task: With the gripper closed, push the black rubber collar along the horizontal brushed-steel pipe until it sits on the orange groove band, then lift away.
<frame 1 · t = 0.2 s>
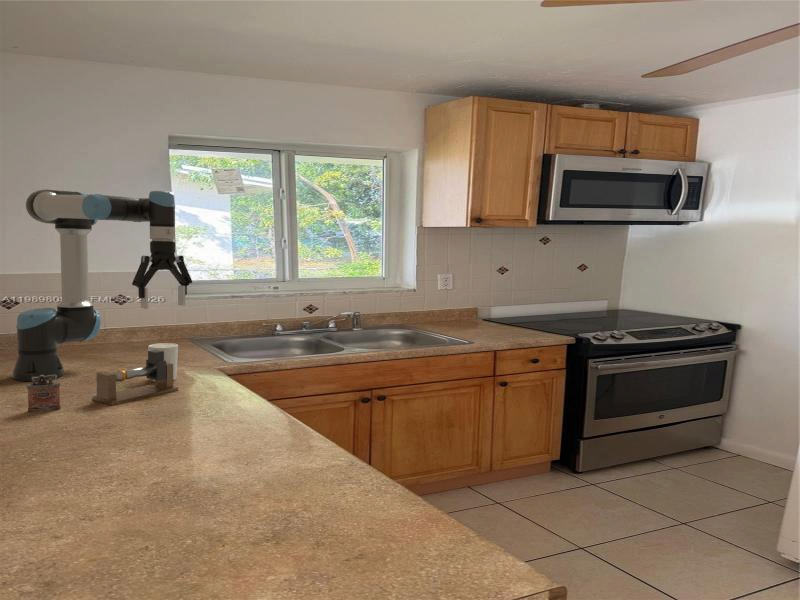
hand: (163, 307, 194), 27 cm above the counter, fingers open, 13 cm apart
lighter: (44, 410, 171), on the counter
candle holder: (163, 379, 212), on the counter
collar: (156, 364, 195), point 9 cm above the counter, slide at 0.0 cm
pipe rig: (136, 395, 190), on the counter
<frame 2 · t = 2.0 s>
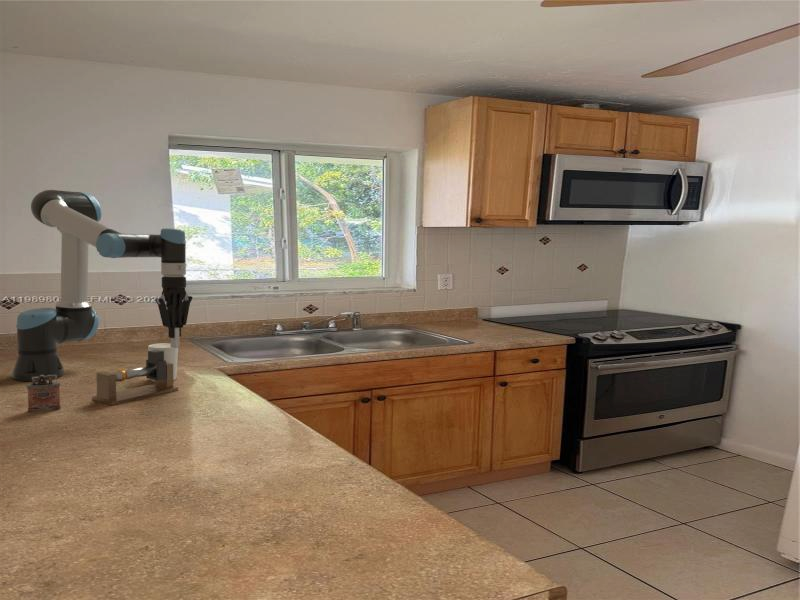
hand: (175, 347, 200), 13 cm above the counter, fingers closed
nothing on the counter moved.
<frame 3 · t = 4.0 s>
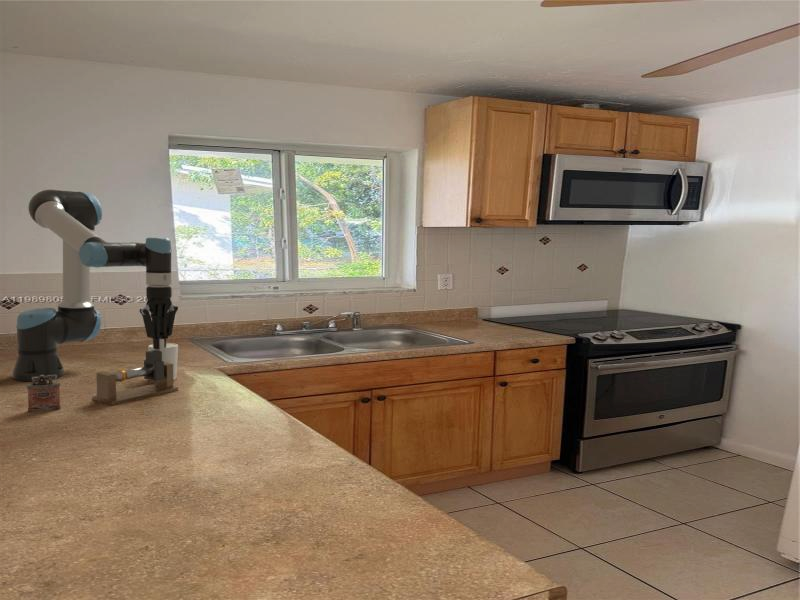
hand: (159, 358, 196), 10 cm above the counter, fingers closed
collar: (153, 365, 194), point 9 cm above the counter, slide at 0.8 cm, touching gripper
everything else where it was.
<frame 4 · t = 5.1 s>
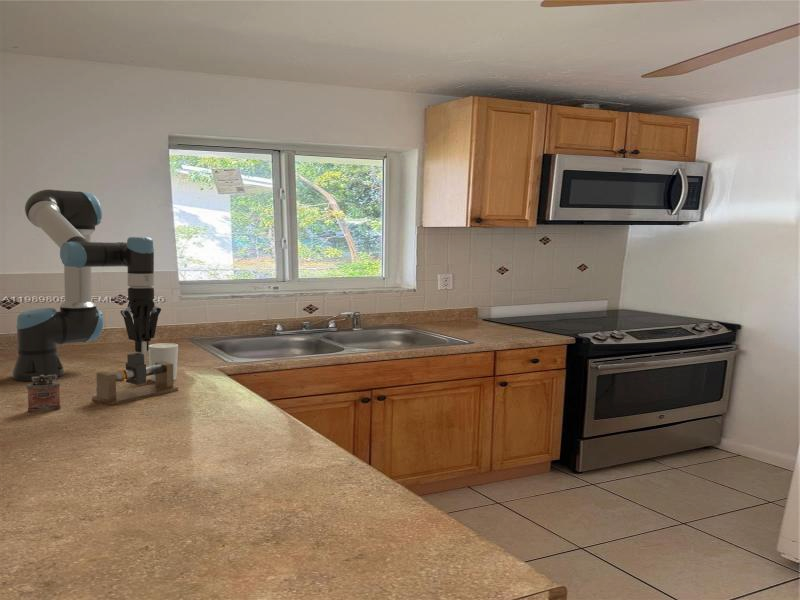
hand: (142, 361, 190), 10 cm above the counter, fingers closed
collar: (135, 368, 189), point 9 cm above the counter, slide at 7.2 cm, touching gripper
everything else where it was.
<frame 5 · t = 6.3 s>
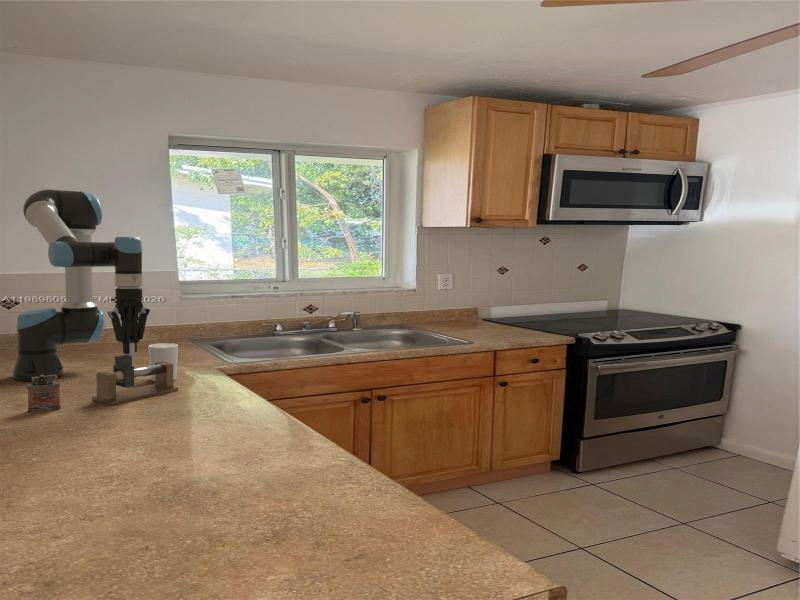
hand: (130, 363, 187), 10 cm above the counter, fingers closed
collar: (123, 370, 185), point 9 cm above the counter, slide at 11.3 cm, touching gripper
everything else where it was.
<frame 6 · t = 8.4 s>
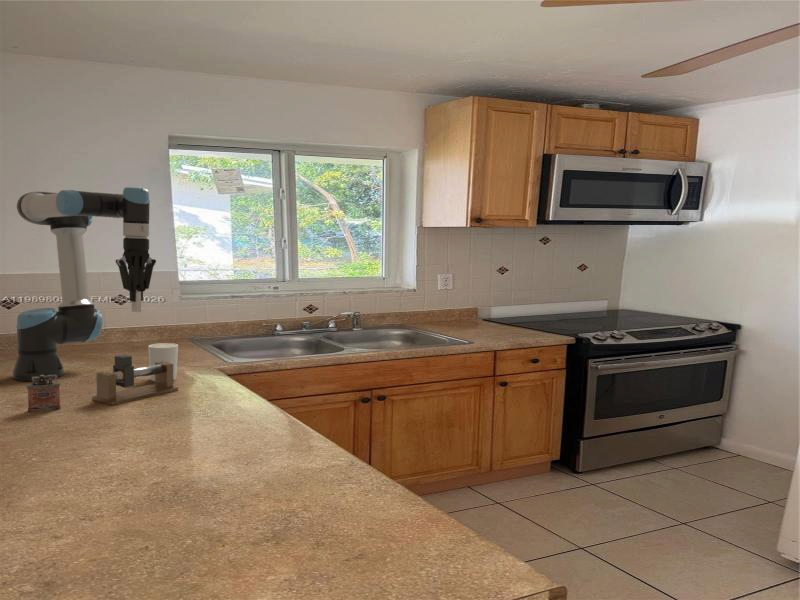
hand: (136, 311, 193), 26 cm above the counter, fingers closed
collar: (123, 370, 185), point 9 cm above the counter, slide at 11.4 cm
everything else where it was.
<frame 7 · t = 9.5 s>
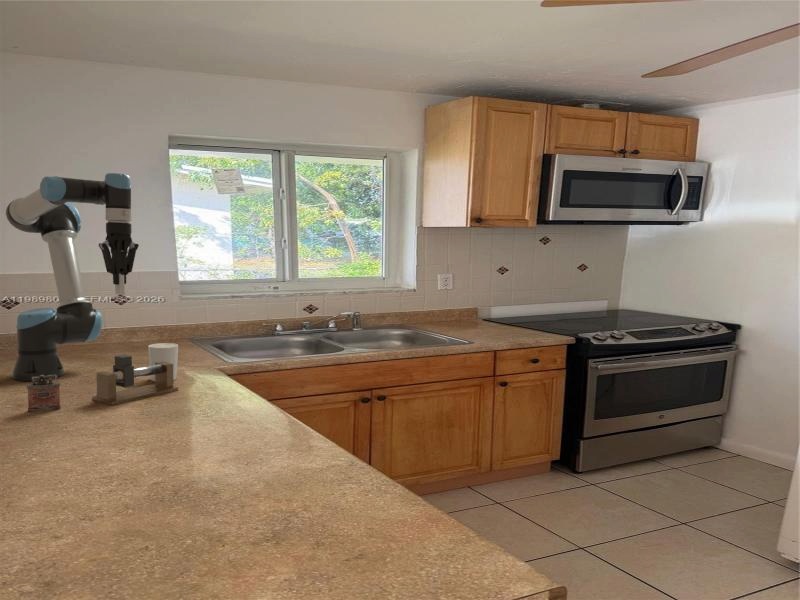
hand: (119, 294, 198), 30 cm above the counter, fingers closed
nothing on the counter moved.
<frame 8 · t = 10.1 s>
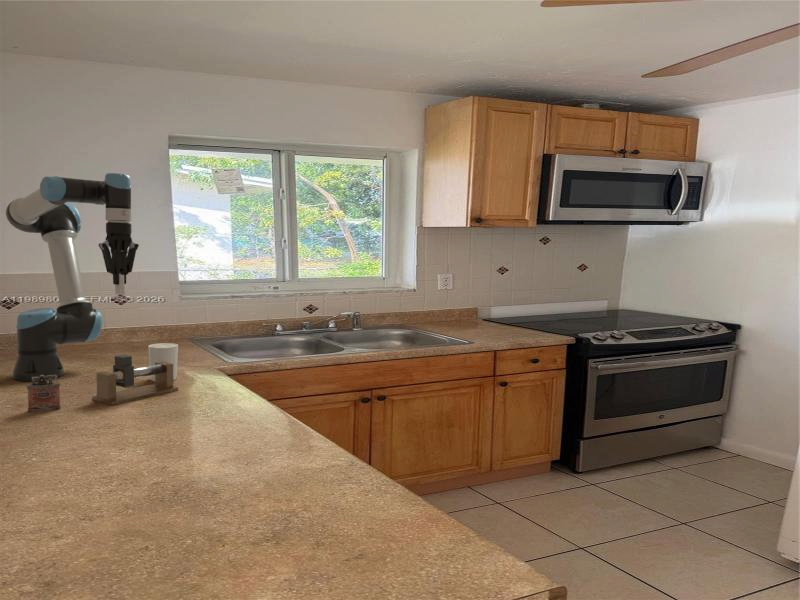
hand: (119, 294, 198), 30 cm above the counter, fingers closed
nothing on the counter moved.
at the end: collar slide at 11.4 cm; collar touching nothing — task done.
